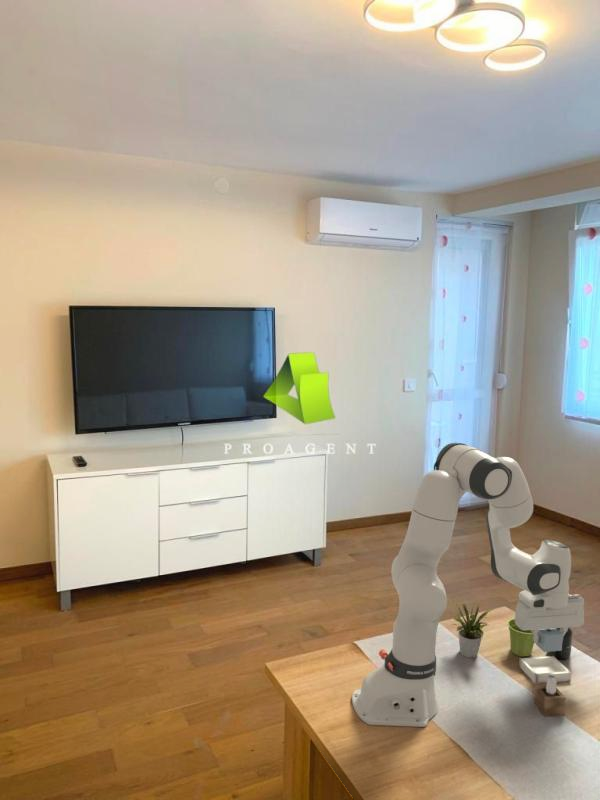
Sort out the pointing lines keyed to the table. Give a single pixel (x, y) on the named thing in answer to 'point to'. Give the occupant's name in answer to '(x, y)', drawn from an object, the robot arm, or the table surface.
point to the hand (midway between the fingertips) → (547, 641)
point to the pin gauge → (551, 685)
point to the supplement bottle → (564, 647)
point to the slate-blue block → (550, 640)
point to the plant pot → (520, 640)
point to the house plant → (470, 631)
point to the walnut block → (549, 702)
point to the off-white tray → (544, 669)
